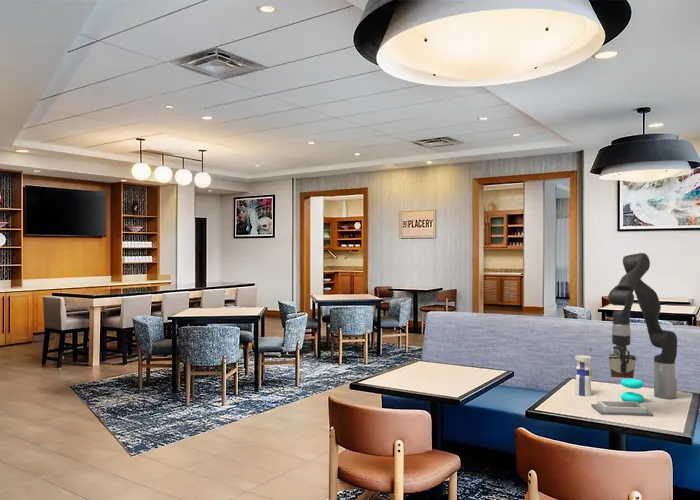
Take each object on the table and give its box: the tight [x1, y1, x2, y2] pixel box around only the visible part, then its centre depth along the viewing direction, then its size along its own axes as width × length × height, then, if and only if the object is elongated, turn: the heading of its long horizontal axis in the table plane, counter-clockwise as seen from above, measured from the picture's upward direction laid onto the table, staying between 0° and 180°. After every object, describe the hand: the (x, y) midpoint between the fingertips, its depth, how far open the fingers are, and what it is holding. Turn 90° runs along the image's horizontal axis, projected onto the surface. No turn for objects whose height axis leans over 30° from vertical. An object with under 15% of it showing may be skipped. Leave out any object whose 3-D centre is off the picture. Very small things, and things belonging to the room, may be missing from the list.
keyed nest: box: [590, 400, 654, 417], centre depth 259 cm, size 22×14×3 cm, turn 83°
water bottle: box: [574, 346, 593, 397], centre depth 290 cm, size 8×9×25 cm
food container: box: [607, 352, 638, 379], centre depth 260 cm, size 12×6×10 cm, turn 79°
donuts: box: [620, 378, 645, 404], centre depth 278 cm, size 10×10×10 cm
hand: (621, 370), depth 259 cm, fingers closed on food container, 5 cm apart
